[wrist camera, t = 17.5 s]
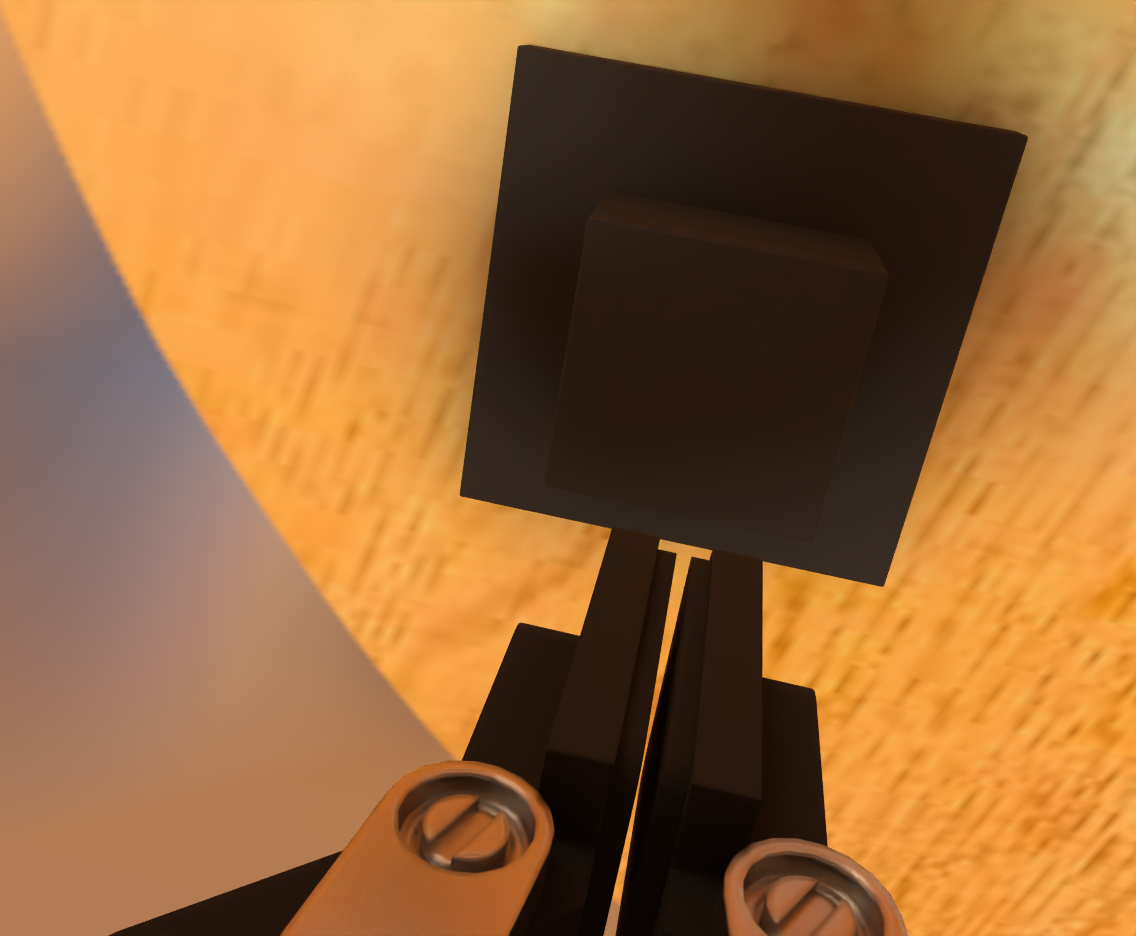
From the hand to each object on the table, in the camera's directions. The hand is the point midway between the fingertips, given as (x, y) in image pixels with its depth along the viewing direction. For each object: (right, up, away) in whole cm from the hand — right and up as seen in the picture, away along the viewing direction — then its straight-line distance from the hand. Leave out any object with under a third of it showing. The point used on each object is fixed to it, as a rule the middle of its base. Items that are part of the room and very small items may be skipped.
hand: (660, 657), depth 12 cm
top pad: (+3, +5, +15) cm, 16 cm away
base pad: (+3, +6, +16) cm, 18 cm away
